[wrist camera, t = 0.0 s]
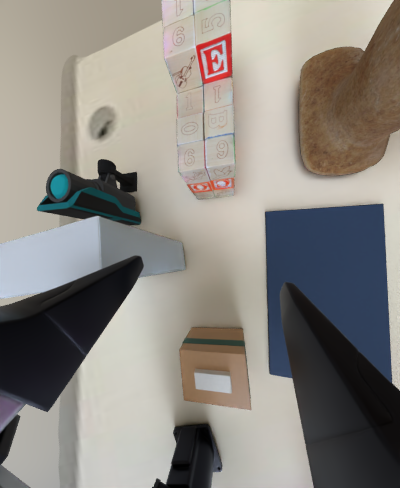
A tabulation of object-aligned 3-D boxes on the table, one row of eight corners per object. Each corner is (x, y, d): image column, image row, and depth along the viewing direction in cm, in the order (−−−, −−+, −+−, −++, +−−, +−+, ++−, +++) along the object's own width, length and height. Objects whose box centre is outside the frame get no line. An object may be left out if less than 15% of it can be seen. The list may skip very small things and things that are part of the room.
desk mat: (389, 392, 18) (392, 396, 18) (269, 372, 22) (270, 374, 21) (380, 204, 19) (383, 203, 19) (265, 212, 22) (265, 211, 22)
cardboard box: (247, 371, 22) (252, 417, 16) (194, 366, 24) (181, 405, 18) (243, 328, 23) (246, 357, 17) (191, 326, 25) (176, 352, 19)
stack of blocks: (235, 196, 23) (235, 142, 11) (197, 200, 25) (162, 156, 13) (231, 68, 24) (228, -111, 12) (195, 79, 25) (159, -70, 13)
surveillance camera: (72, 116, 16) (71, 207, 16) (141, 172, 27) (141, 224, 27) (35, 127, 17) (34, 211, 17) (116, 175, 29) (116, 225, 29)
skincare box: (182, 238, 25) (99, 212, 10) (186, 269, 25) (105, 293, 9) (88, 257, 30) (-67, 260, 15) (90, 284, 29) (-70, 315, 14)
